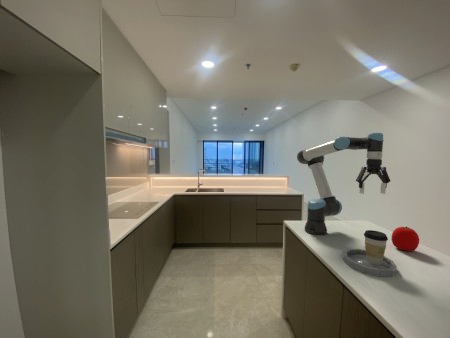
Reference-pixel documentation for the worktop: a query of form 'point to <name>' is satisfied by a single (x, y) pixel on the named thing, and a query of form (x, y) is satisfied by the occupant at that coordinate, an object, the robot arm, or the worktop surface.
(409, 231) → the tomato
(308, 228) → the robot arm
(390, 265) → the tray
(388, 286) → the worktop surface
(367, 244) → the coffee cup
